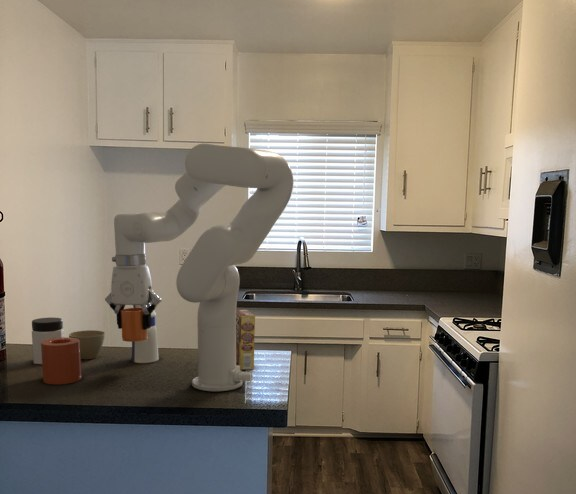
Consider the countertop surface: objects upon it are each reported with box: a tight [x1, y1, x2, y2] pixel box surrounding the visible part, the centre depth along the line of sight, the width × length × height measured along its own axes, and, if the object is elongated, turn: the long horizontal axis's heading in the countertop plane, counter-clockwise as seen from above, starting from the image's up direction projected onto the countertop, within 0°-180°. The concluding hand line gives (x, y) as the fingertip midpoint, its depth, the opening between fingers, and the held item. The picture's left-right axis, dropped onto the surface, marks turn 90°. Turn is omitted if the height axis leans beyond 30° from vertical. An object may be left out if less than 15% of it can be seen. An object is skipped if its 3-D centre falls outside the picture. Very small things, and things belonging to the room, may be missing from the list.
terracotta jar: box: [41, 336, 82, 385], centre depth 160 cm, size 9×9×10 cm
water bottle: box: [131, 292, 160, 364], centre depth 179 cm, size 8×9×25 cm
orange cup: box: [121, 307, 147, 343], centre depth 167 cm, size 6×6×8 cm
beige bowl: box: [68, 330, 106, 360], centre depth 183 cm, size 10×10×7 cm
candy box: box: [236, 309, 256, 371], centre depth 174 cm, size 9×4×15 cm, turn 16°
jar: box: [31, 317, 65, 366], centre depth 177 cm, size 9×8×12 cm
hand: (134, 327), depth 167 cm, fingers closed on orange cup, 6 cm apart
